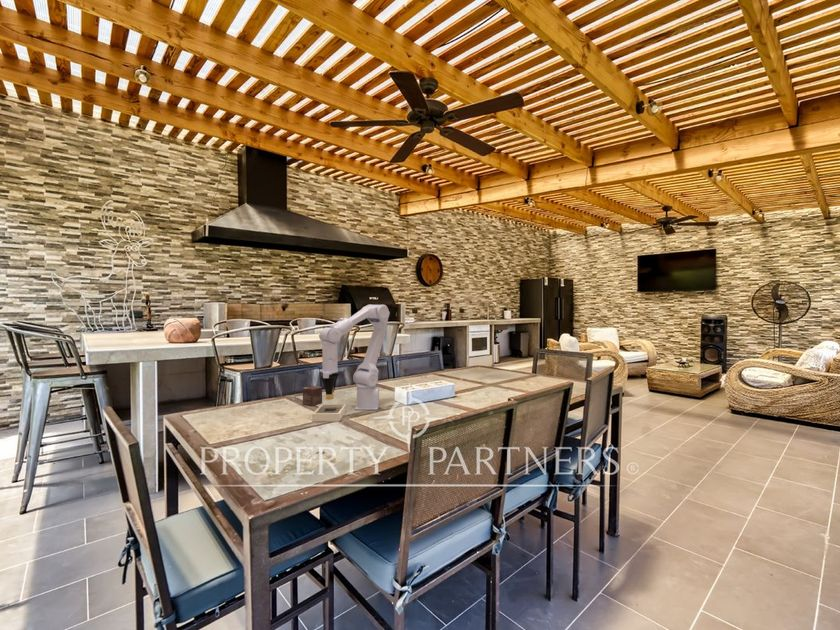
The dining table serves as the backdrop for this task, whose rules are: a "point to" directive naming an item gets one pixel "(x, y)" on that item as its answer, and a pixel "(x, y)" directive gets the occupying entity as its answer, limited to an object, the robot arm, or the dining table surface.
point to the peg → (330, 396)
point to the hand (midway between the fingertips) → (330, 393)
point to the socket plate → (329, 410)
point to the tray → (329, 414)
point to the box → (312, 395)
